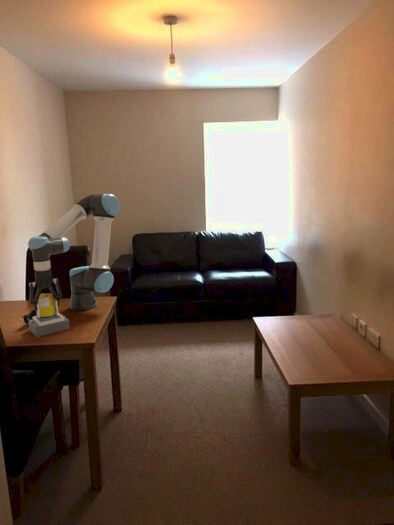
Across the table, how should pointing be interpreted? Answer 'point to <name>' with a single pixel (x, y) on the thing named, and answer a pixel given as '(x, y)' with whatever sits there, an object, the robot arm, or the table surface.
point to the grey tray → (48, 325)
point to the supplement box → (46, 305)
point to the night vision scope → (29, 316)
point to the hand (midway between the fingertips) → (47, 314)
